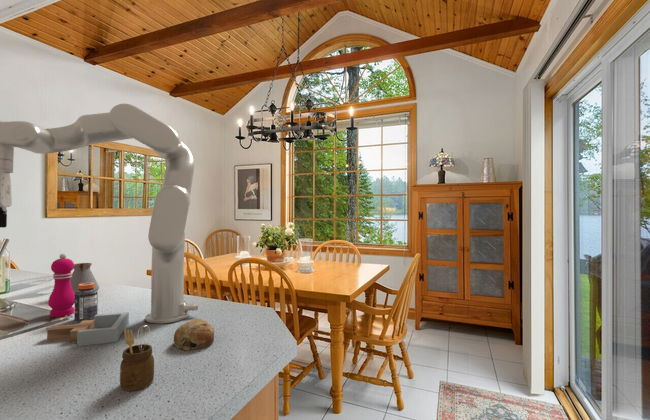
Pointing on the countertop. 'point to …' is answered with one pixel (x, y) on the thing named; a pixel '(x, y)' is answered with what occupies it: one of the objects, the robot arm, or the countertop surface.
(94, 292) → the pill bottle
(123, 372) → the utensil holder
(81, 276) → the coffee pot
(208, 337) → the bread roll
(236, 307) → the countertop surface
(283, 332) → the countertop surface
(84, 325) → the T block
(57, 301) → the pepper mill
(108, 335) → the pocket
